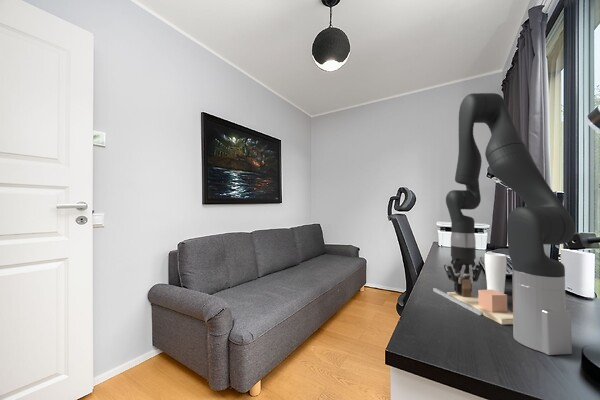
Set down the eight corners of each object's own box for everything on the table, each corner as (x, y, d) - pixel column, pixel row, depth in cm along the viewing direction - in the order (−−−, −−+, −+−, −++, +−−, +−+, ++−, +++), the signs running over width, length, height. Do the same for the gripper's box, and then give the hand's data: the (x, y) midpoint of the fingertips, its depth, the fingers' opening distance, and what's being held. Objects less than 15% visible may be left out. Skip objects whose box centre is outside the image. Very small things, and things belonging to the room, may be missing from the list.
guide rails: (509, 314, 76) (509, 310, 76) (479, 315, 75) (479, 311, 75) (457, 290, 98) (457, 287, 98) (433, 291, 97) (433, 287, 97)
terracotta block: (507, 311, 74) (507, 295, 74) (492, 312, 74) (492, 295, 74) (492, 305, 79) (492, 289, 79) (478, 305, 79) (478, 289, 79)
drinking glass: (481, 290, 98) (480, 253, 99) (490, 288, 101) (490, 252, 102) (500, 296, 92) (500, 256, 93) (510, 294, 95) (510, 255, 95)
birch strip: (527, 323, 70) (526, 296, 70) (501, 324, 69) (501, 297, 69) (466, 295, 92) (466, 275, 92) (446, 296, 91) (446, 276, 91)
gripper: (452, 246, 85) (452, 297, 84) (489, 246, 86) (490, 296, 85) (437, 243, 92) (438, 290, 91) (472, 243, 93) (472, 289, 93)
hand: (463, 292), depth 88 cm, fingers closed on birch strip, 3 cm apart
